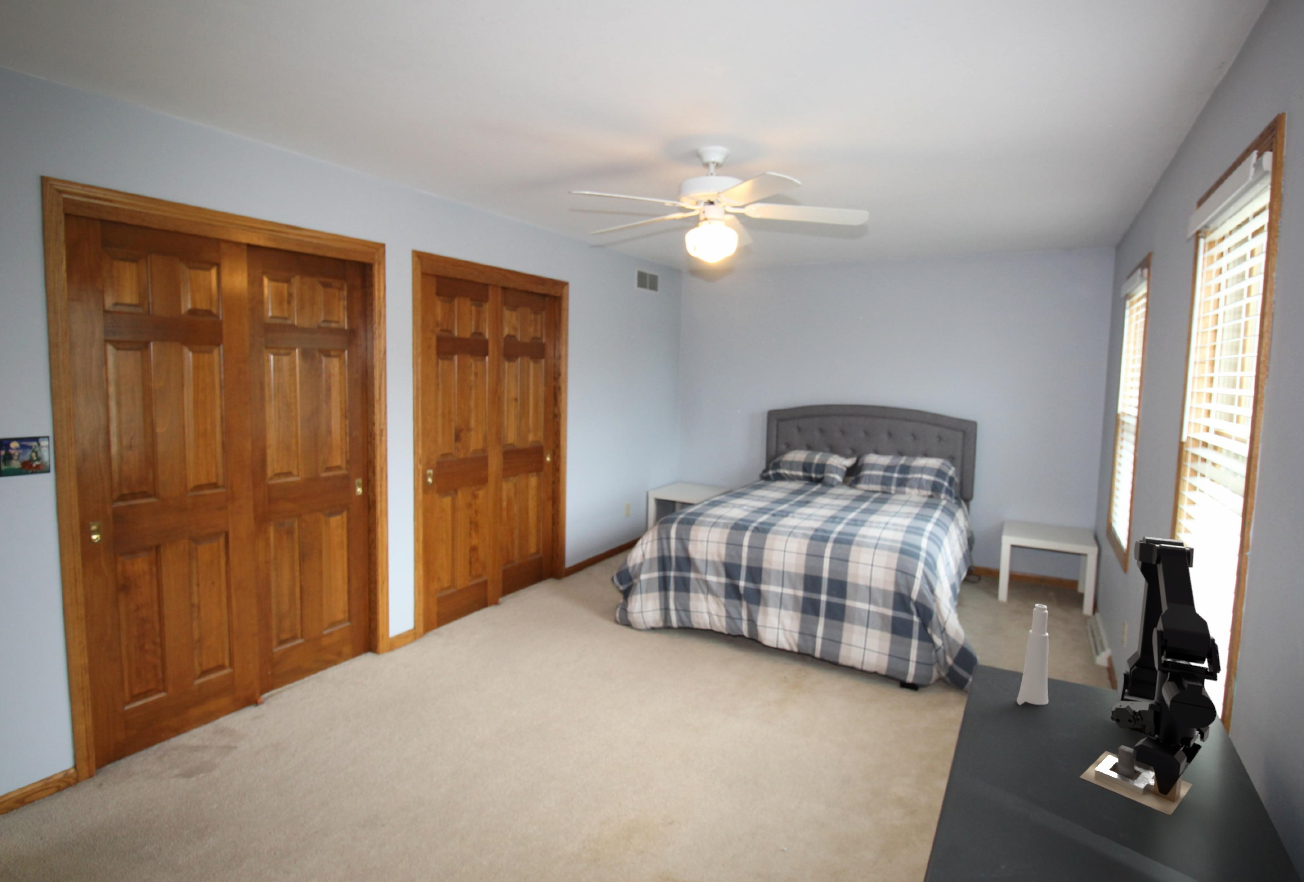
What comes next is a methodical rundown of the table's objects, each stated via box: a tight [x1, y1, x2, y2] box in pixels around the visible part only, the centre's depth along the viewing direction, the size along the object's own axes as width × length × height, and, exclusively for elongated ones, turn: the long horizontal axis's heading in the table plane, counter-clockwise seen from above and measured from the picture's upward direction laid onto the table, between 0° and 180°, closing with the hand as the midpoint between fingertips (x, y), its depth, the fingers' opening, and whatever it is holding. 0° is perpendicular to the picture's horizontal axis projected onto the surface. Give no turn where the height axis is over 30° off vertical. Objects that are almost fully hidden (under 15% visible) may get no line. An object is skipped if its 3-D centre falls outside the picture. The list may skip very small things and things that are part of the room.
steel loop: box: [1095, 755, 1183, 802], centre depth 119 cm, size 7×11×6 cm, turn 40°
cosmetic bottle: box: [1016, 603, 1050, 706], centre depth 148 cm, size 6×6×22 cm
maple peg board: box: [1079, 744, 1193, 816], centre depth 119 cm, size 13×13×6 cm
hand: (1167, 788), depth 116 cm, fingers open, 4 cm apart
